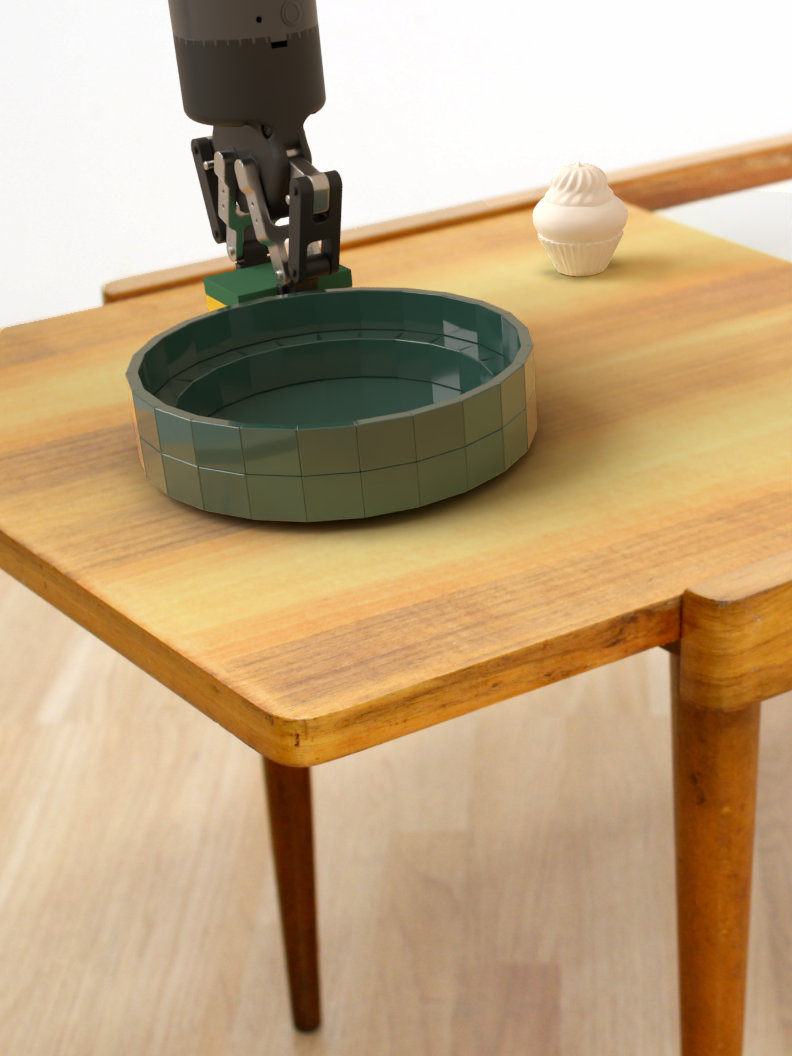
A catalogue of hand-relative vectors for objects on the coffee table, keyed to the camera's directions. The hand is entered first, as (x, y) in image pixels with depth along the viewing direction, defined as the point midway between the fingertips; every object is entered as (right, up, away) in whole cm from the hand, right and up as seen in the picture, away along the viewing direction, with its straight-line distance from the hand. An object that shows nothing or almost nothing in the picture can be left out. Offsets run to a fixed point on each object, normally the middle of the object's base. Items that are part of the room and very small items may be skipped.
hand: (283, 332), depth 88 cm
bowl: (+5, -7, -12) cm, 15 cm away
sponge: (0, 0, 0) cm, 1 cm away
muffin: (+17, +6, +12) cm, 22 cm away
